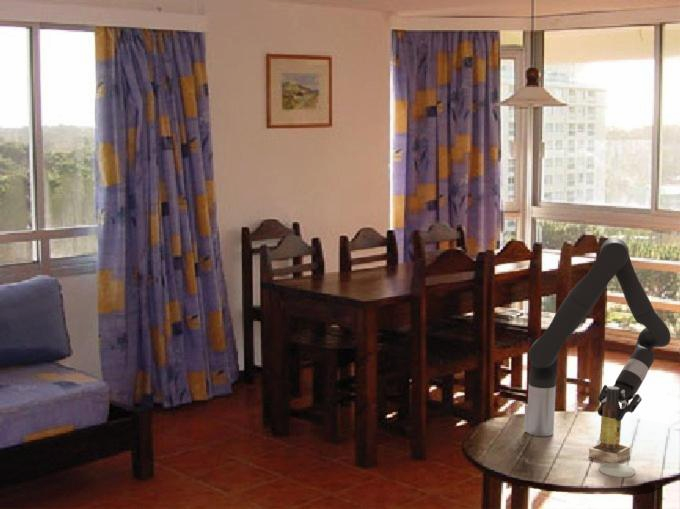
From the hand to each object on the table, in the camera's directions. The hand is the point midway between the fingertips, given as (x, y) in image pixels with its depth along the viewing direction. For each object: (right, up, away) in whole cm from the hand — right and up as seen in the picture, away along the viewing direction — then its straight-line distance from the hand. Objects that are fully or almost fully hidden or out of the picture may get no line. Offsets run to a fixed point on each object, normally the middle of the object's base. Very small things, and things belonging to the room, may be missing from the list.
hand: (608, 417), depth 341 cm
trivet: (0, -15, -10) cm, 19 cm away
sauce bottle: (+1, -10, +3) cm, 11 cm away
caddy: (+1, -13, +3) cm, 14 cm away
